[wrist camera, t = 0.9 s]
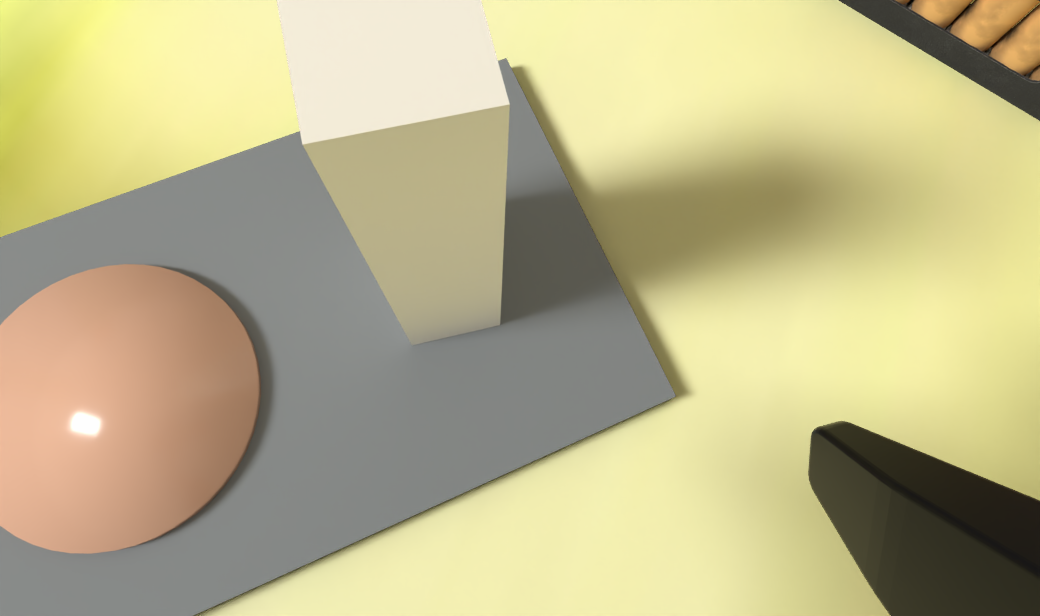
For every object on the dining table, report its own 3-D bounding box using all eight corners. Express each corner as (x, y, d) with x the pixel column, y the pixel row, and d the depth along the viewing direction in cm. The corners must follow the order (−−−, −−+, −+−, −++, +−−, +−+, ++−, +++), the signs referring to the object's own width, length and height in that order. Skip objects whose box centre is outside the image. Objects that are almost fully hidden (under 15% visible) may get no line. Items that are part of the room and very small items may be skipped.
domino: (500, 324, 22) (511, 104, 10) (410, 345, 22) (300, 144, 9) (471, 204, 23) (446, -134, 11) (385, 222, 23) (256, -105, 10)
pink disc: (205, 582, 20) (199, 584, 19) (-85, 516, 20) (-96, 516, 19) (296, 299, 22) (293, 296, 22) (38, 243, 22) (30, 238, 22)
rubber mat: (506, 68, 25) (506, 58, 25) (671, 398, 22) (675, 395, 22) (-89, 280, 22) (-104, 274, 22) (2, 702, 19) (-13, 709, 18)
